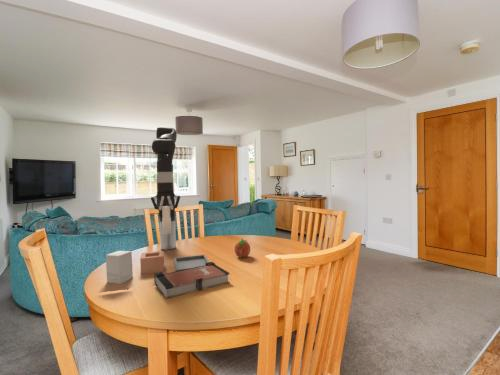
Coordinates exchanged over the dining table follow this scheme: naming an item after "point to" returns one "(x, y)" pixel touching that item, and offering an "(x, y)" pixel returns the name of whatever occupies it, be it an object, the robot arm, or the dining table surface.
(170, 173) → the robot arm
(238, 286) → the dining table surface
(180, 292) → the book
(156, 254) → the square hole frame
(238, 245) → the fruit
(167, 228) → the peg
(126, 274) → the supplement box
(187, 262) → the tray
